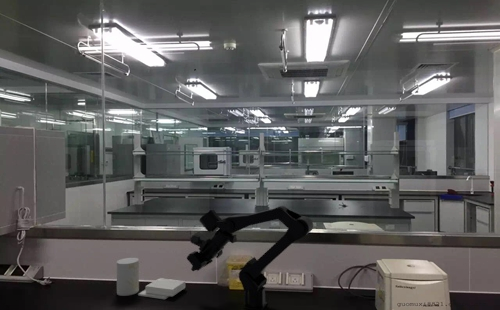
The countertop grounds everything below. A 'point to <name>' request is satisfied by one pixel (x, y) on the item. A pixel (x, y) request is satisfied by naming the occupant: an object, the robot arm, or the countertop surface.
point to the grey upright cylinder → (127, 276)
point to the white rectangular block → (165, 287)
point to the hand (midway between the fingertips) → (192, 270)
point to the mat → (152, 295)
